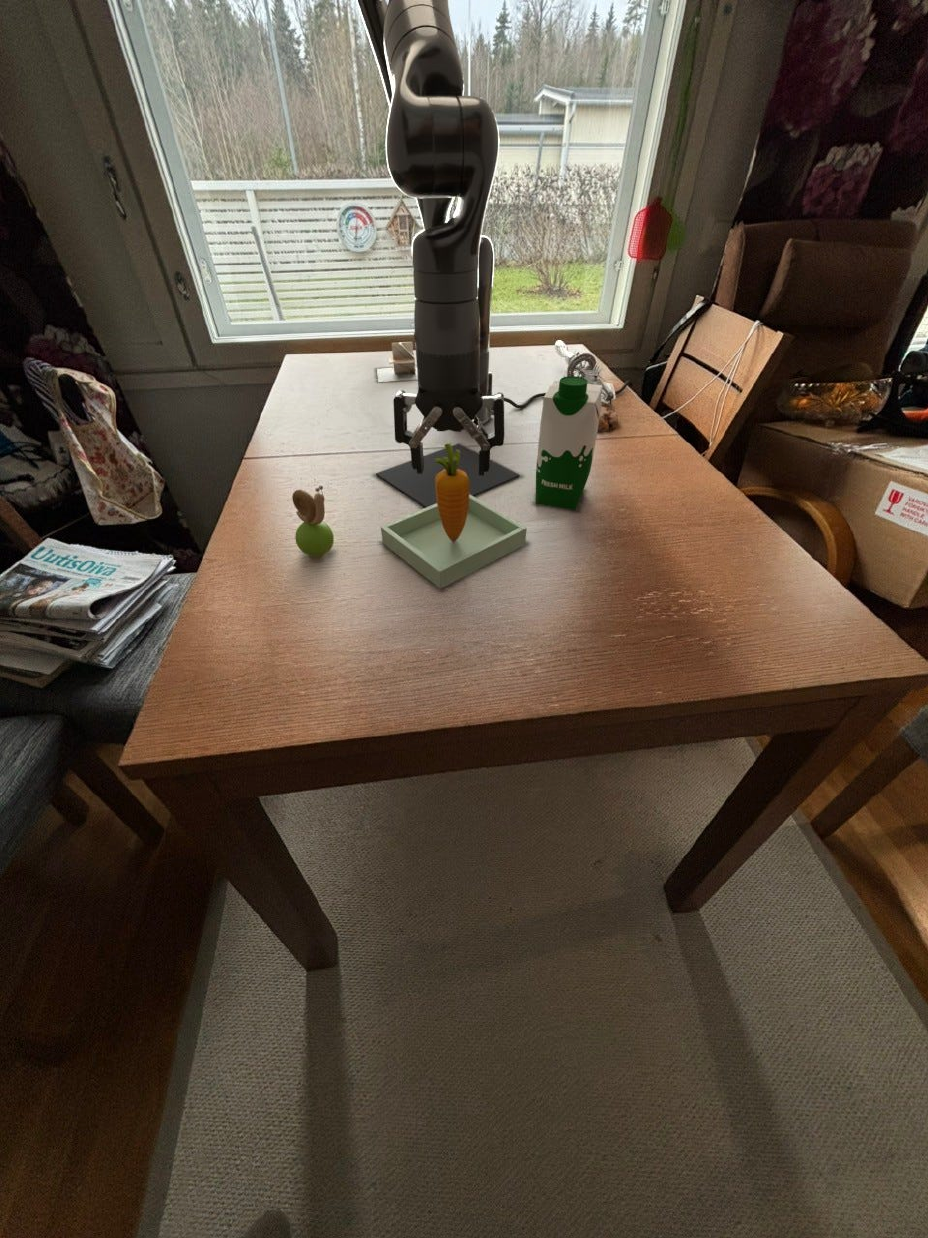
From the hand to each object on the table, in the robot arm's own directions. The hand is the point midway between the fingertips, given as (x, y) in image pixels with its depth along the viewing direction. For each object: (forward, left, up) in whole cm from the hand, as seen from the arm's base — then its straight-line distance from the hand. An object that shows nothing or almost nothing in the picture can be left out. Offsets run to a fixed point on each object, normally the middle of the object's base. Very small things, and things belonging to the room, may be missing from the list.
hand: (451, 472), depth 69 cm
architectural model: (-41, -72, -12) cm, 84 cm away
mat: (-13, -18, -12) cm, 25 cm away
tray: (0, 0, -12) cm, 12 cm away
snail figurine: (+17, -11, -12) cm, 24 cm away
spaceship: (-69, -34, -12) cm, 78 cm away
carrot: (0, 0, -12) cm, 12 cm away
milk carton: (-23, +1, -12) cm, 26 cm away
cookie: (-53, -16, -12) cm, 57 cm away
